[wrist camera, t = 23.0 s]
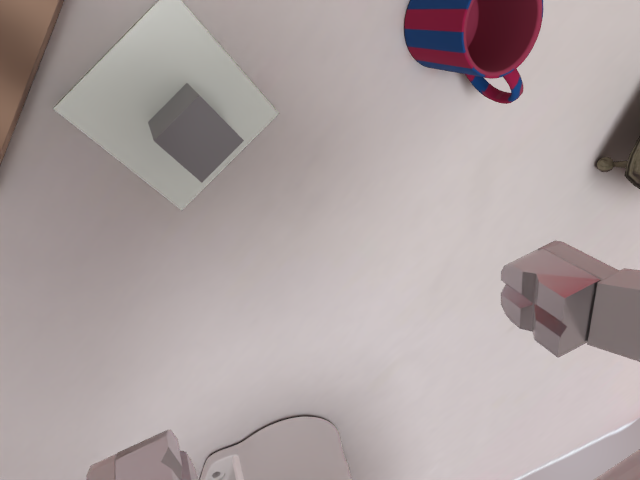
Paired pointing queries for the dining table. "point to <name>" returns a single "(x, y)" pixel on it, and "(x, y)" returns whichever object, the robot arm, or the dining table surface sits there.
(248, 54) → the dining table surface
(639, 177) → the tabletop clock
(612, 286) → the robot arm
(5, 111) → the housing
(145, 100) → the cover
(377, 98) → the dining table surface
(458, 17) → the mug
